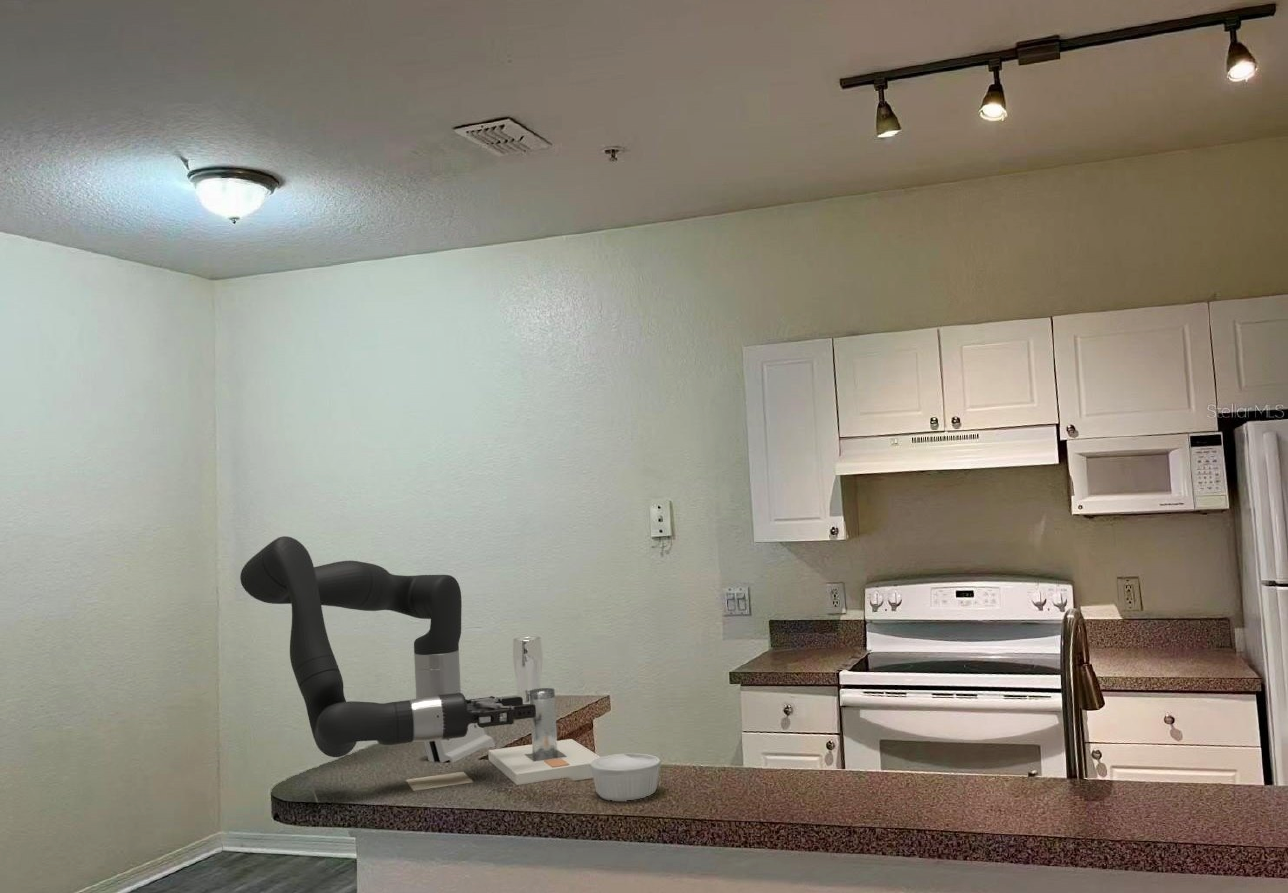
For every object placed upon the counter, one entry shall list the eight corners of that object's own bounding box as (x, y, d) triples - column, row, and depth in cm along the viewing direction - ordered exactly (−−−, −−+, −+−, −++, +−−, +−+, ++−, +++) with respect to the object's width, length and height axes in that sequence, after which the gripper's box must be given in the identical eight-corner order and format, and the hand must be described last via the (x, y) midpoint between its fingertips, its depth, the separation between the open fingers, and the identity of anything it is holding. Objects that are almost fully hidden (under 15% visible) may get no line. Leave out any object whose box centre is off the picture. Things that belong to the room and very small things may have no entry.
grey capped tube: (530, 769, 193) (526, 689, 193) (554, 765, 194) (550, 687, 195) (537, 774, 189) (533, 693, 189) (561, 771, 190) (557, 690, 191)
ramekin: (673, 787, 176) (671, 755, 176) (641, 807, 166) (639, 772, 166) (613, 782, 181) (612, 750, 182) (579, 800, 171) (577, 767, 172)
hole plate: (488, 764, 198) (488, 749, 198) (572, 752, 204) (571, 737, 204) (517, 789, 179) (516, 773, 179) (607, 775, 185) (606, 759, 185)
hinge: (453, 767, 197) (434, 714, 199) (432, 775, 198) (414, 723, 200) (496, 745, 213) (479, 697, 214) (476, 753, 214) (459, 705, 216)
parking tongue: (405, 784, 186) (405, 779, 186) (463, 776, 190) (463, 771, 190) (413, 795, 179) (413, 790, 179) (473, 786, 183) (473, 781, 183)
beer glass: (528, 698, 262) (525, 636, 263) (550, 700, 258) (547, 637, 259) (509, 703, 257) (506, 640, 257) (531, 705, 253) (528, 641, 253)
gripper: (444, 702, 179) (539, 691, 185) (428, 689, 192) (517, 679, 198) (446, 748, 178) (541, 735, 184) (430, 732, 191) (519, 720, 198)
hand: (528, 706), depth 191 cm, fingers open, 8 cm apart
